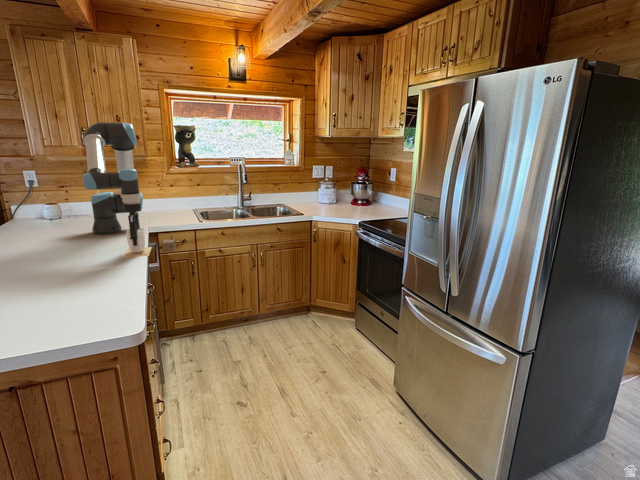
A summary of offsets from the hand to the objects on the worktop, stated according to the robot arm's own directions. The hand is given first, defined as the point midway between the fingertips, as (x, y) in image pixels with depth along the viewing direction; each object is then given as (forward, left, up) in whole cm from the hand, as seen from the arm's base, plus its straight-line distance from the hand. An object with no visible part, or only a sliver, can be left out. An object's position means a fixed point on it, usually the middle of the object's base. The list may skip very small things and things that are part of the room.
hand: (137, 249), depth 175 cm
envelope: (0, 0, -2) cm, 2 cm away
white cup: (0, 0, -1) cm, 1 cm away
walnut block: (+1, +14, -2) cm, 14 cm away
